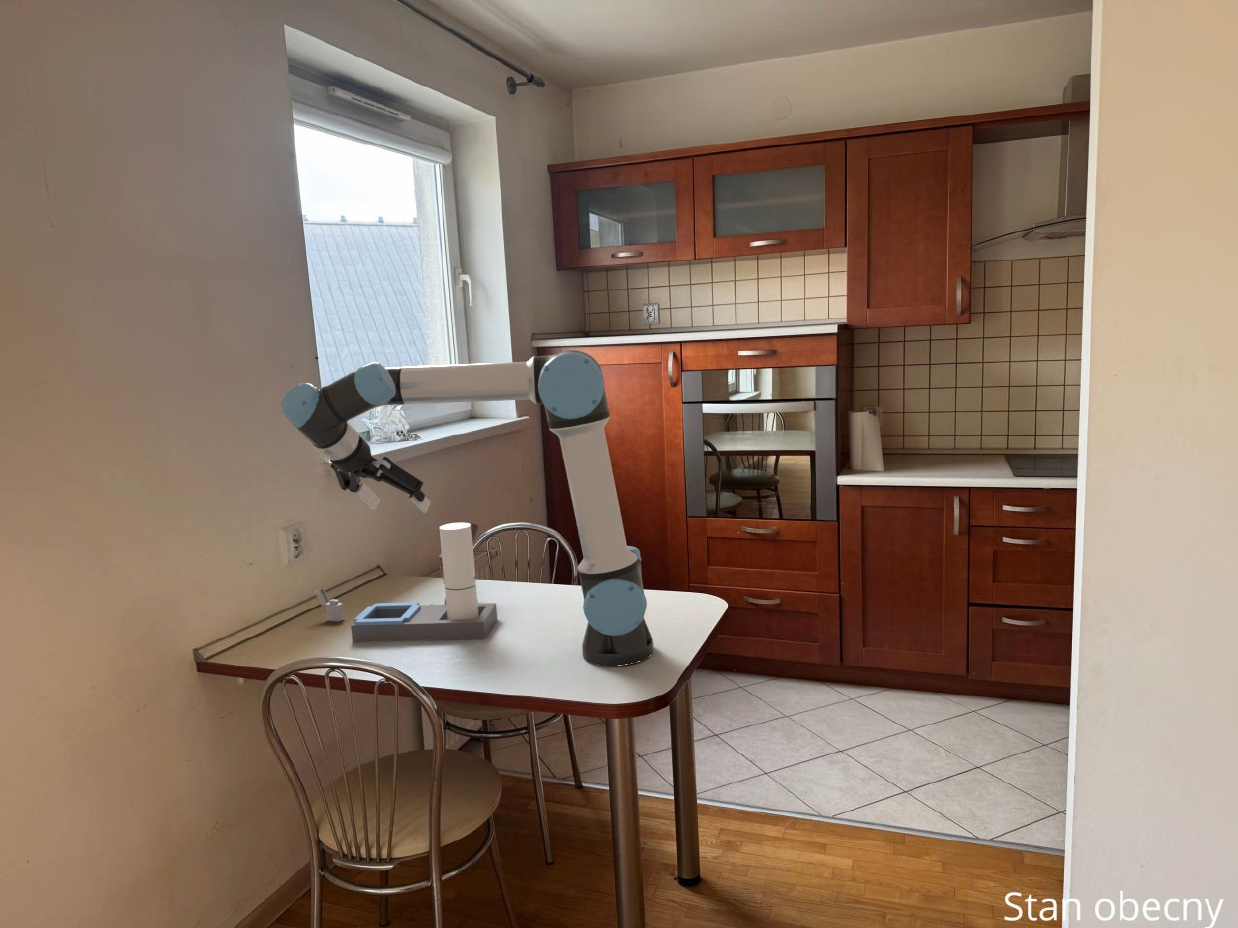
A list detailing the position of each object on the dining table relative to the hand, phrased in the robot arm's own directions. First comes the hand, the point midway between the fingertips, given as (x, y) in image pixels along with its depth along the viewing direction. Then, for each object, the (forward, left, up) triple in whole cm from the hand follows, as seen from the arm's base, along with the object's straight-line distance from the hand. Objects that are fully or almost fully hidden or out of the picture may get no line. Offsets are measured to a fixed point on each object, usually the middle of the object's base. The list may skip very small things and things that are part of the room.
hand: (401, 506), depth 180 cm
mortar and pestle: (+29, -21, -33) cm, 49 cm away
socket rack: (+13, -6, -33) cm, 36 cm away
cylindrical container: (+8, -14, -33) cm, 37 cm away
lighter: (+36, +11, -33) cm, 51 cm away
